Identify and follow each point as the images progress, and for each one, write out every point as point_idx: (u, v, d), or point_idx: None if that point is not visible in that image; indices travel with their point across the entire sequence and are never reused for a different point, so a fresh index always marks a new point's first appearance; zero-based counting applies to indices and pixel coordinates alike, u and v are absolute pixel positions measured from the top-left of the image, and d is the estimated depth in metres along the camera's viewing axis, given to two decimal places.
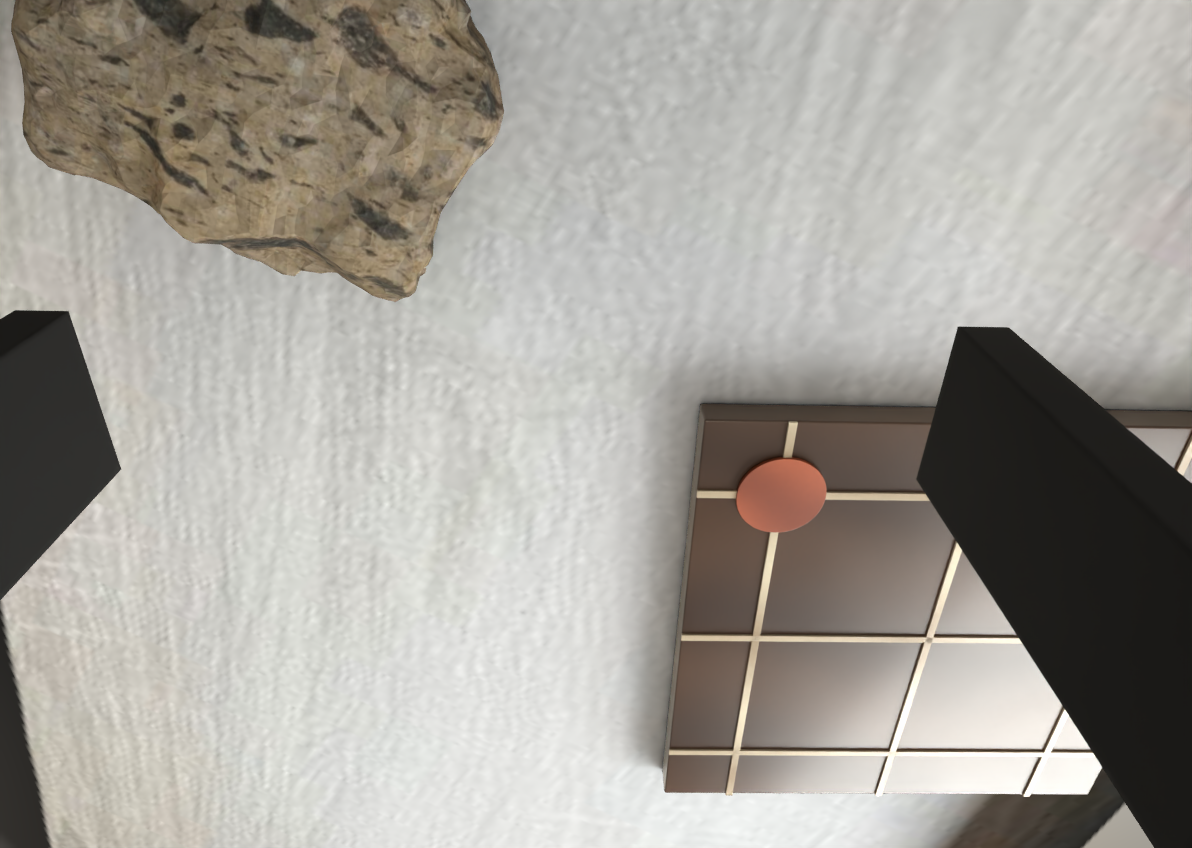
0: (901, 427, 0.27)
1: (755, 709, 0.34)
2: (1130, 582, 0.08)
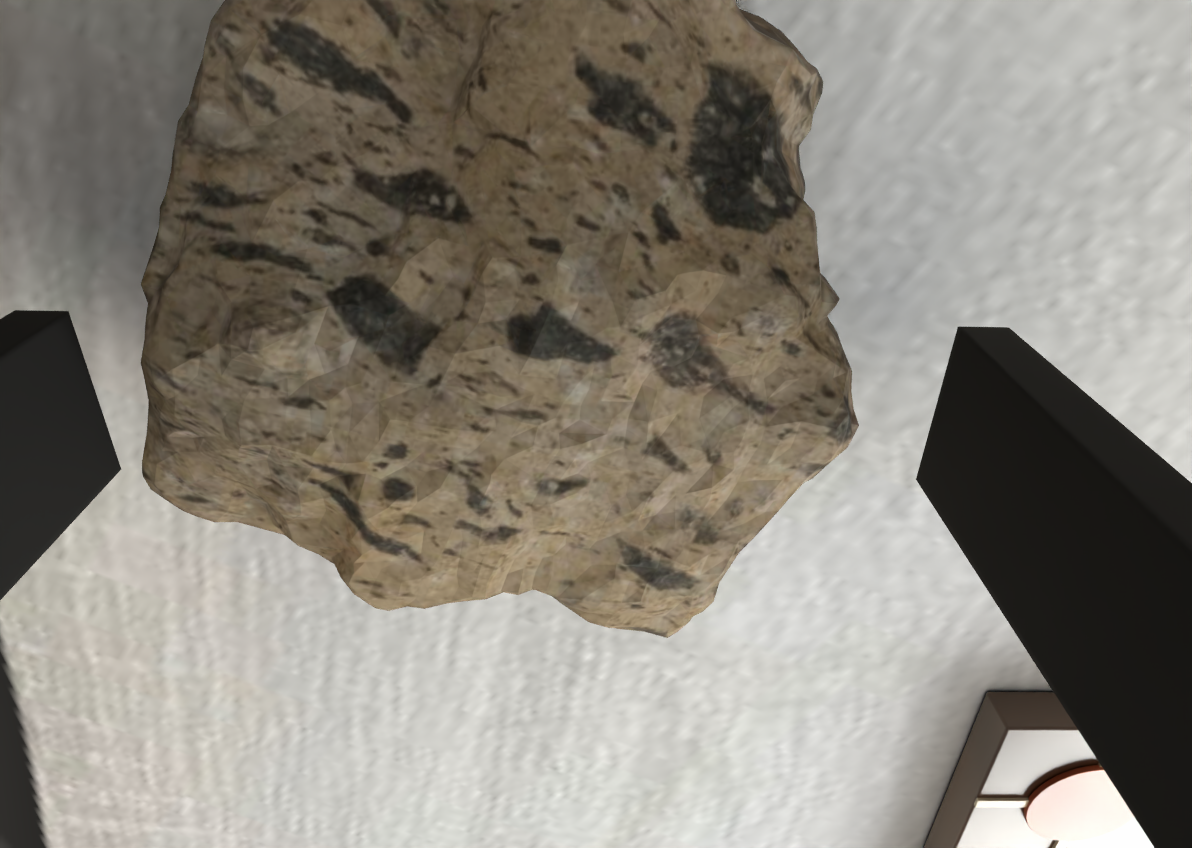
0: None
1: None
2: (1131, 581, 0.08)
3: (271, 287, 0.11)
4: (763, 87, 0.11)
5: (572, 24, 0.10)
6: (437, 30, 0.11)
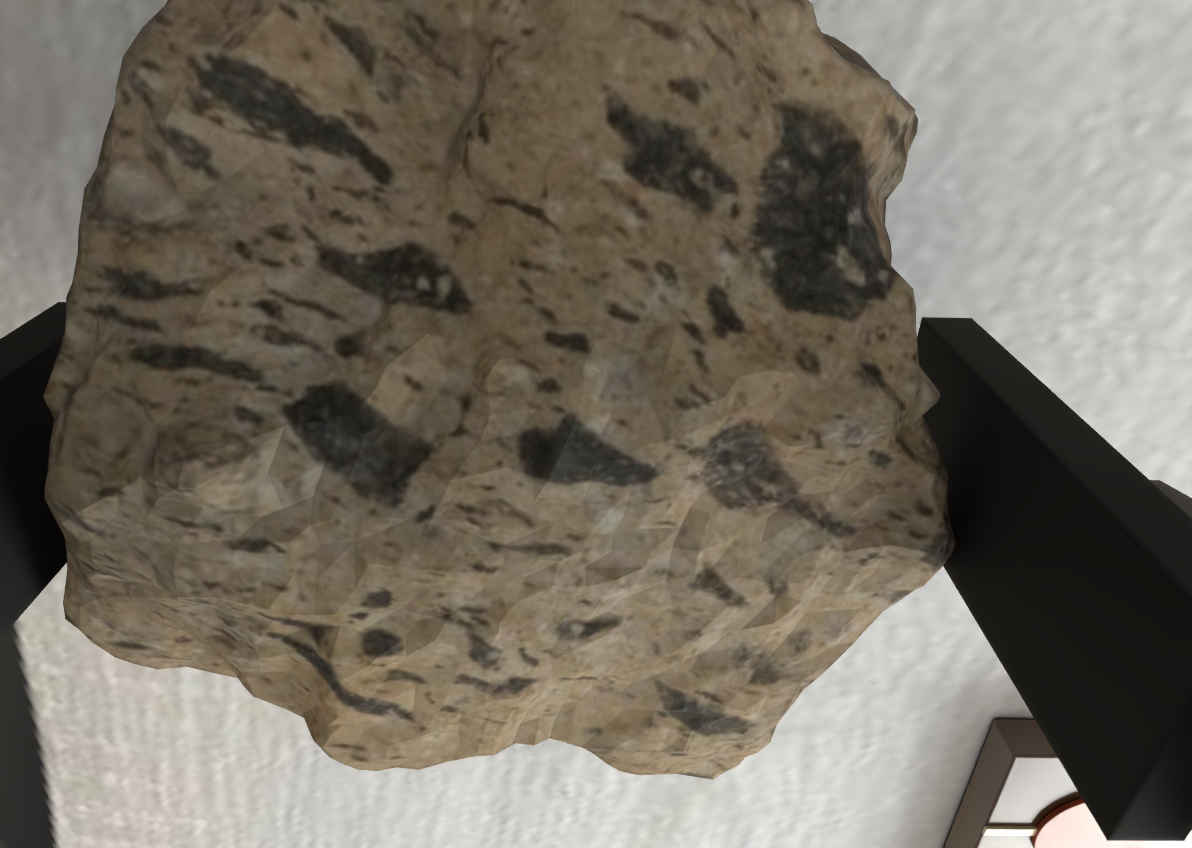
0: None
1: None
2: (1072, 560, 0.08)
3: (210, 404, 0.08)
4: (850, 131, 0.08)
5: (602, 55, 0.08)
6: (424, 64, 0.08)
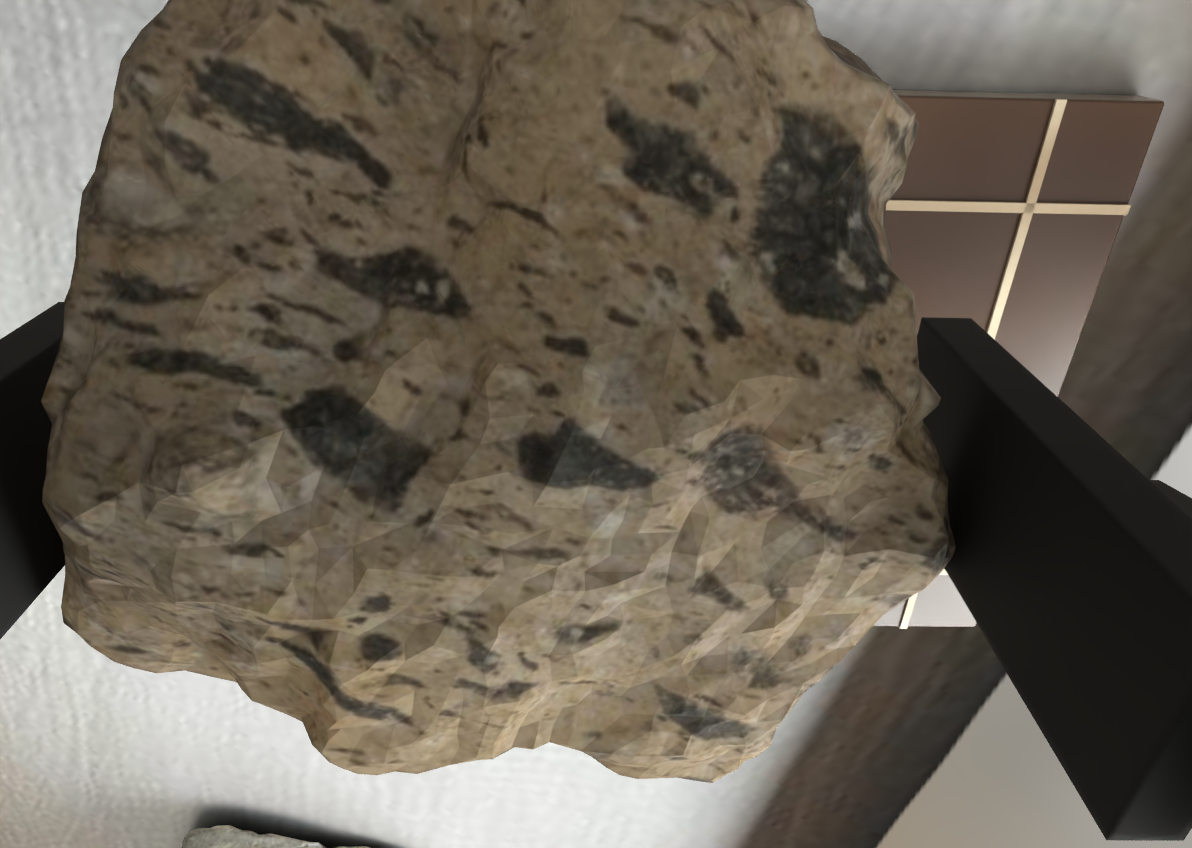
0: None
1: None
2: (1072, 559, 0.08)
3: (208, 409, 0.08)
4: (850, 135, 0.08)
5: (602, 59, 0.08)
6: (423, 66, 0.08)
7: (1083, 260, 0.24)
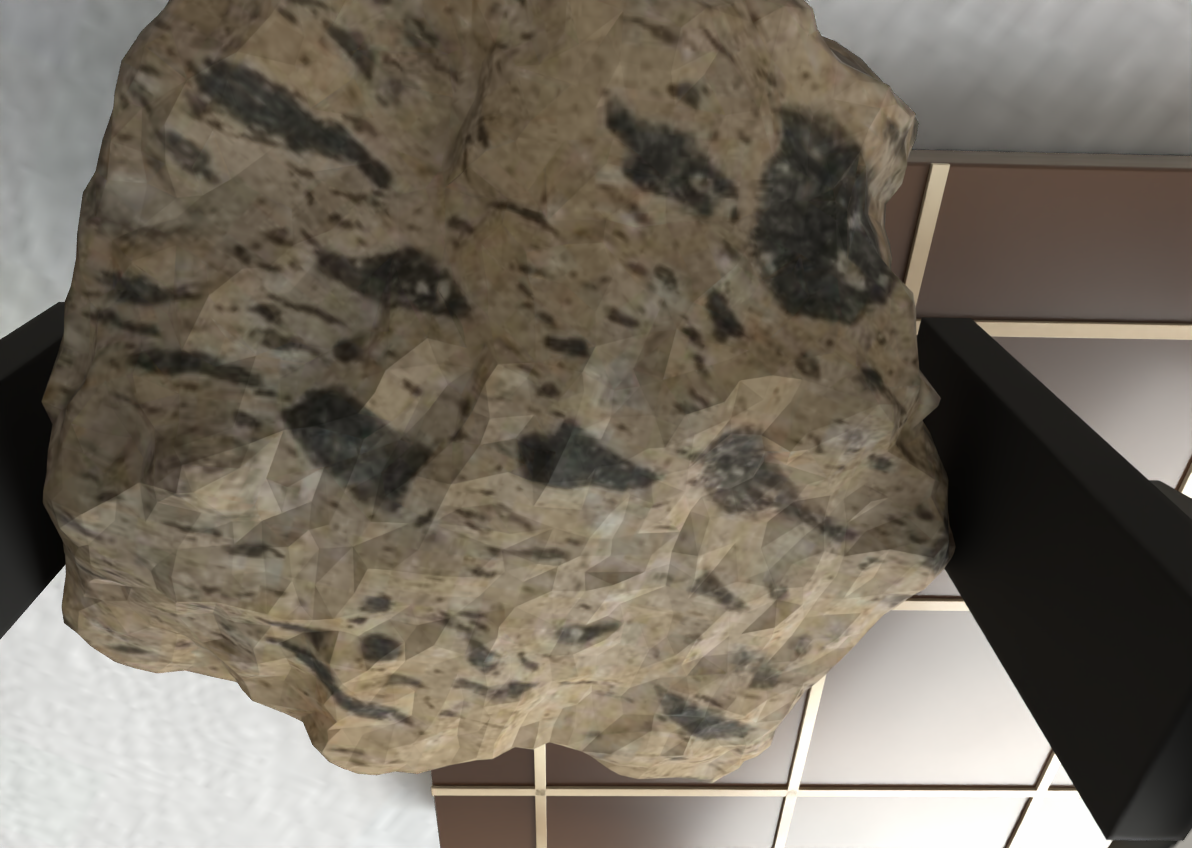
0: None
1: None
2: (1072, 559, 0.08)
3: (208, 409, 0.08)
4: (851, 136, 0.08)
5: (602, 59, 0.08)
6: (423, 67, 0.08)
7: None
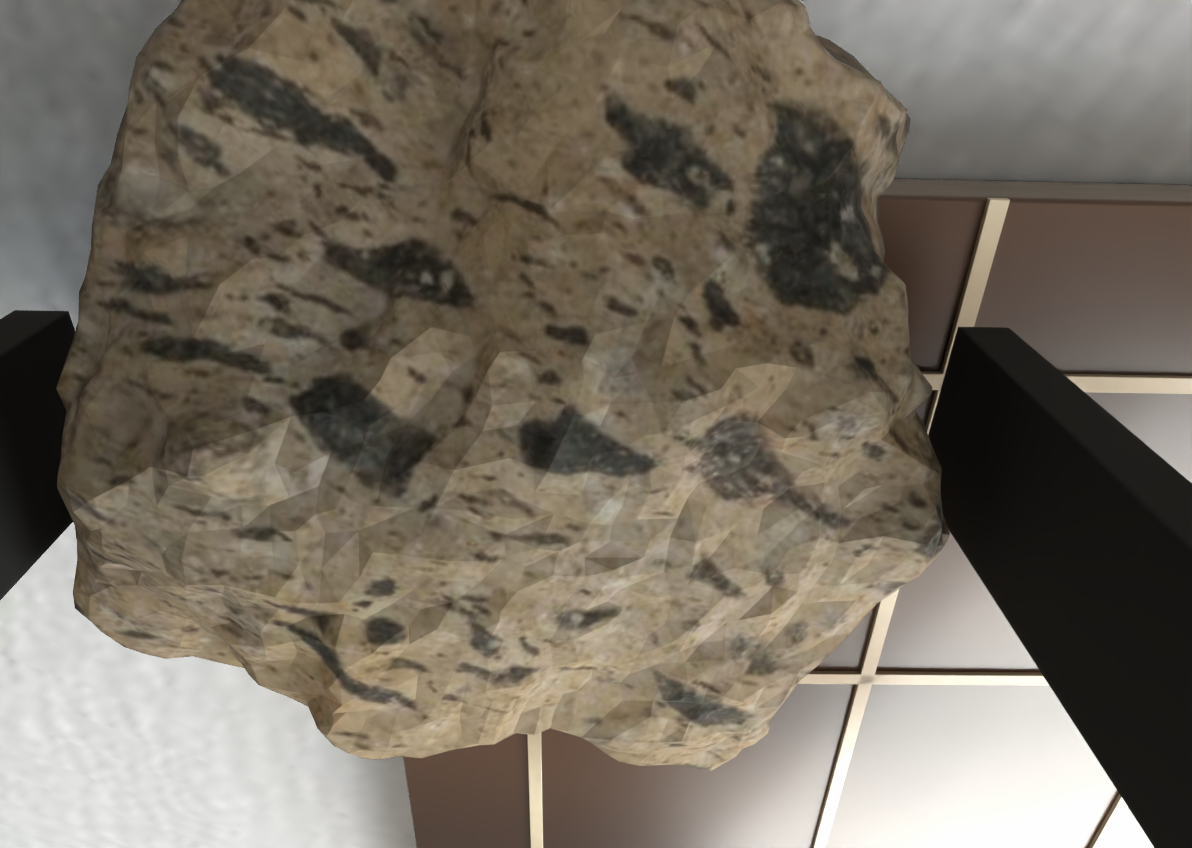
0: None
1: (559, 801, 0.19)
2: (1130, 580, 0.08)
3: (218, 395, 0.08)
4: (843, 130, 0.09)
5: (601, 56, 0.08)
6: (428, 63, 0.08)
7: None
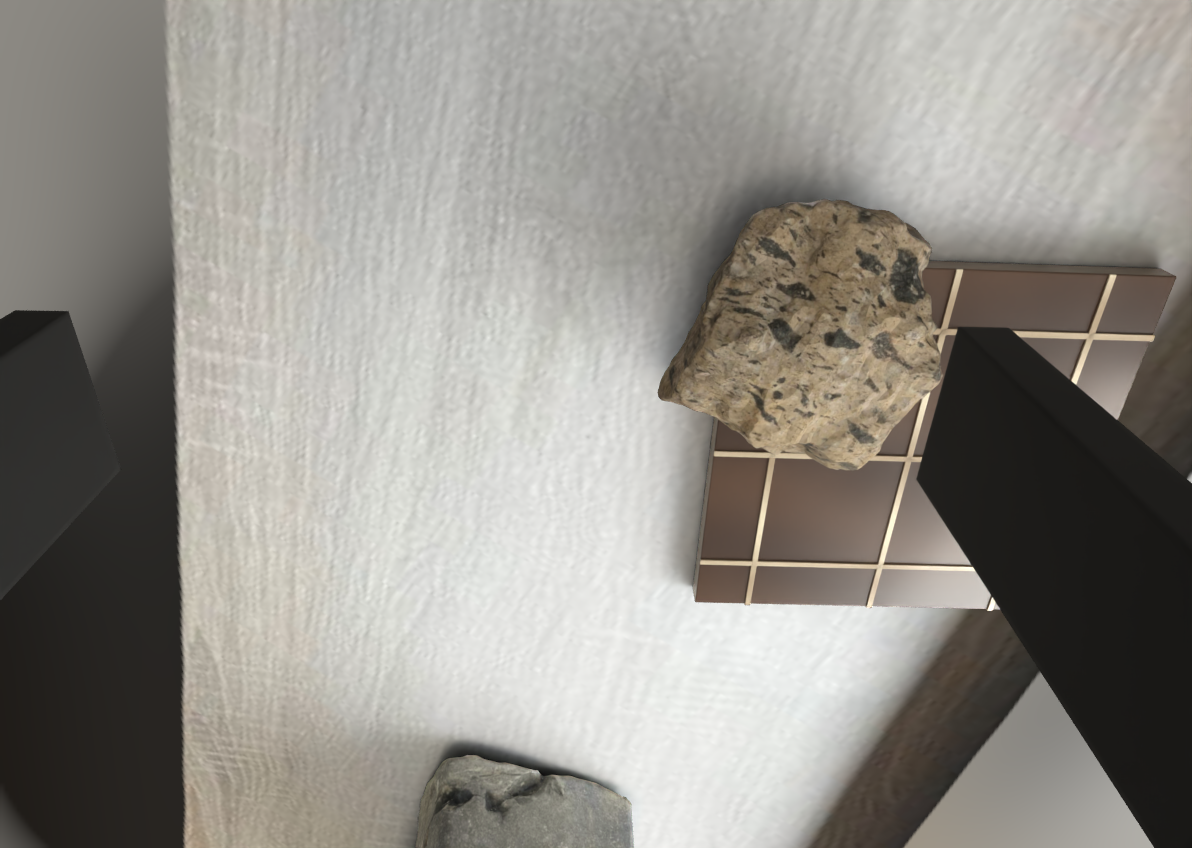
0: None
1: (771, 522, 0.42)
2: (1130, 580, 0.08)
3: (752, 322, 0.32)
4: (914, 255, 0.33)
5: (856, 238, 0.32)
6: (807, 237, 0.32)
7: (1123, 367, 0.38)
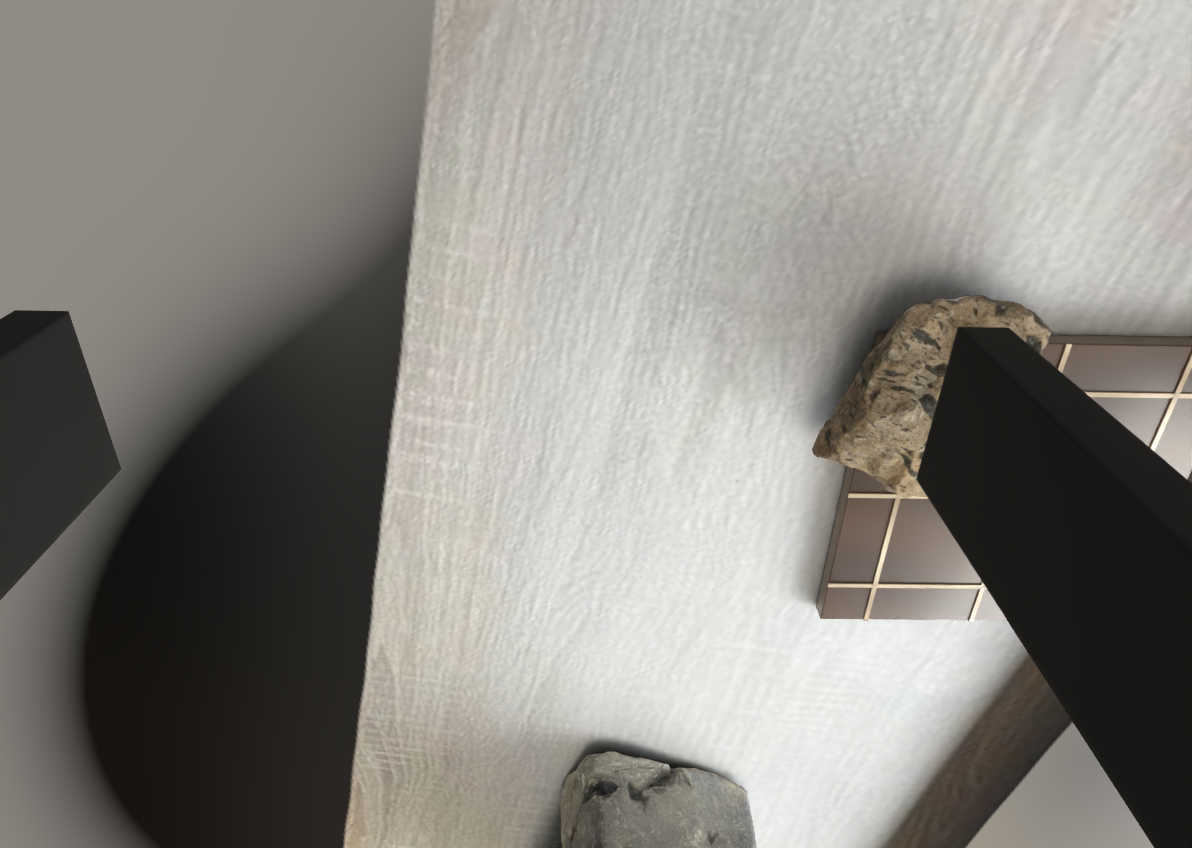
0: None
1: (891, 551, 0.49)
2: (1130, 580, 0.08)
3: (906, 398, 0.39)
4: (1039, 339, 0.39)
5: None
6: (951, 326, 0.39)
7: None
